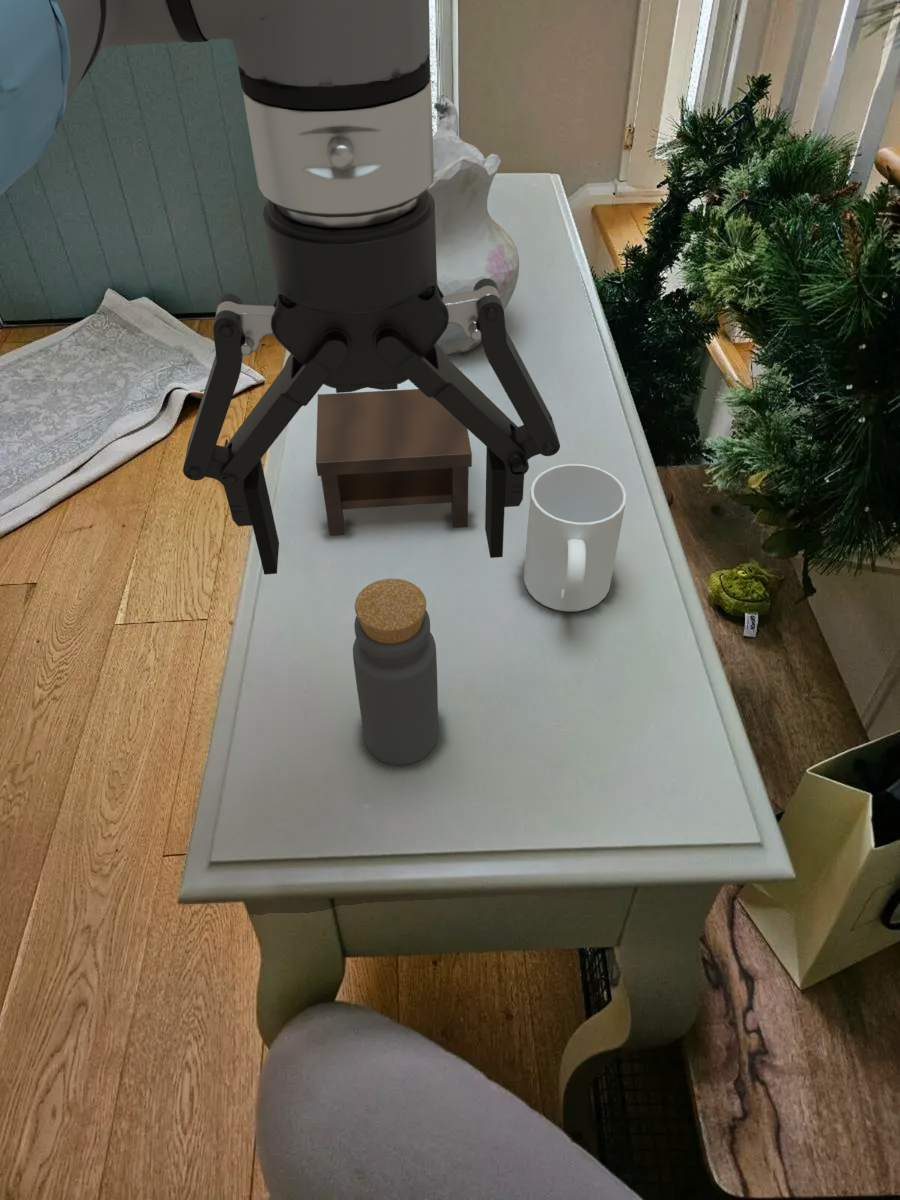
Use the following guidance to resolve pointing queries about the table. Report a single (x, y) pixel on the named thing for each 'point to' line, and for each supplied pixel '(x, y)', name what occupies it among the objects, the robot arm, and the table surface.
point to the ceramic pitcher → (466, 222)
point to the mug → (573, 536)
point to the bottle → (396, 671)
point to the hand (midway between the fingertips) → (383, 551)
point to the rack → (390, 454)
